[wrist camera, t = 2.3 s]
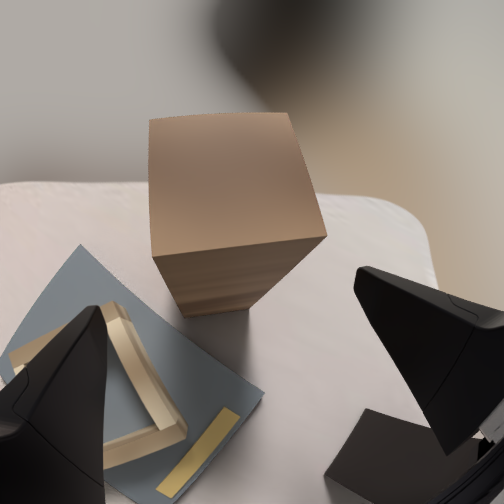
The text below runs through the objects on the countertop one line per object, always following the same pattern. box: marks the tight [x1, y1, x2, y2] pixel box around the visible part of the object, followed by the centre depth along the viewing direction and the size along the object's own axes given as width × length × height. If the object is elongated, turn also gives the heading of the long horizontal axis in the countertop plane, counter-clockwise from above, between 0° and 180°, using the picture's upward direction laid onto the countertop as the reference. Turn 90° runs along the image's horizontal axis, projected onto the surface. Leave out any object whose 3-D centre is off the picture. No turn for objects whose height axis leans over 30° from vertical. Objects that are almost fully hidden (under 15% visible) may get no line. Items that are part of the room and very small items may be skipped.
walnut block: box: [148, 113, 327, 318], centre depth 14 cm, size 4×4×13 cm
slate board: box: [0, 244, 265, 504], centre depth 15 cm, size 16×12×1 cm
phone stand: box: [325, 408, 482, 504], centre depth 11 cm, size 9×6×12 cm, turn 57°
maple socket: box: [8, 300, 188, 470], centre depth 14 cm, size 8×8×3 cm
